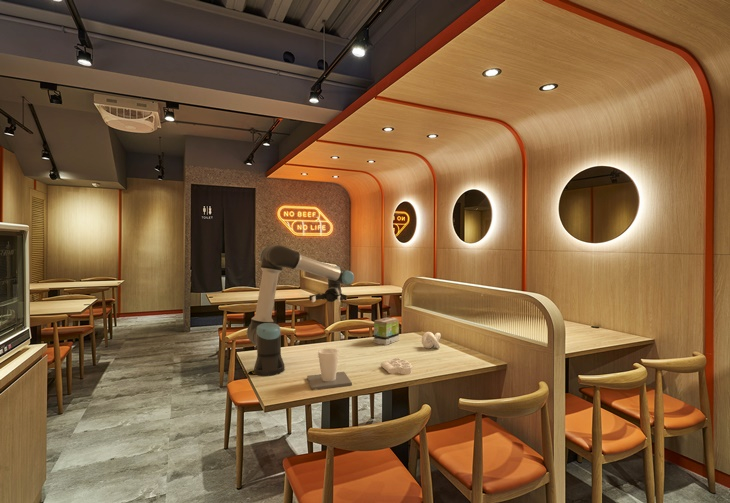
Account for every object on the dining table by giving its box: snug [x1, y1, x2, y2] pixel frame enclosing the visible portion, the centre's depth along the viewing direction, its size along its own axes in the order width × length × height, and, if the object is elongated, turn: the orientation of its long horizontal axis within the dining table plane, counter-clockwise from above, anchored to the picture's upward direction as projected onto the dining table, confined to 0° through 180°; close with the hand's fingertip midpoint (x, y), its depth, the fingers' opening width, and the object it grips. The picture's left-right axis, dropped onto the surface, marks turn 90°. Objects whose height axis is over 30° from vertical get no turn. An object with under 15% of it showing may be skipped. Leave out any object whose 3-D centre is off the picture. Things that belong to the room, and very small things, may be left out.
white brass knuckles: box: [380, 357, 414, 375], centre depth 194 cm, size 3×18×15 cm
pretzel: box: [421, 331, 441, 349], centre depth 233 cm, size 11×12×9 cm
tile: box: [306, 371, 353, 391], centre depth 177 cm, size 18×16×1 cm
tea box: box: [373, 316, 400, 346], centre depth 248 cm, size 15×10×15 cm, turn 143°
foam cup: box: [317, 347, 340, 381], centre depth 177 cm, size 10×9×13 cm
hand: (325, 299), depth 198 cm, fingers open, 13 cm apart
